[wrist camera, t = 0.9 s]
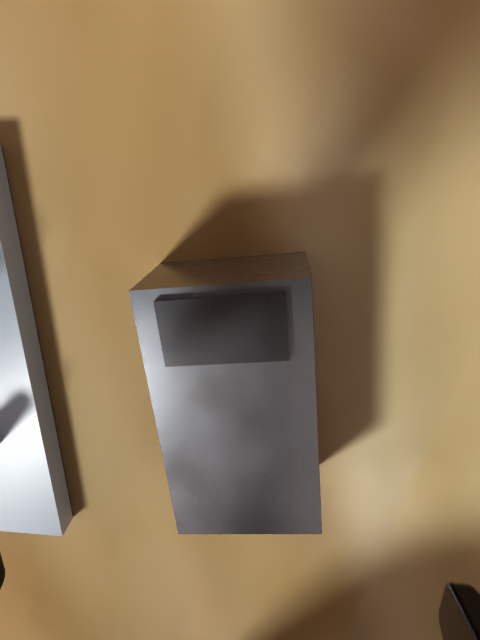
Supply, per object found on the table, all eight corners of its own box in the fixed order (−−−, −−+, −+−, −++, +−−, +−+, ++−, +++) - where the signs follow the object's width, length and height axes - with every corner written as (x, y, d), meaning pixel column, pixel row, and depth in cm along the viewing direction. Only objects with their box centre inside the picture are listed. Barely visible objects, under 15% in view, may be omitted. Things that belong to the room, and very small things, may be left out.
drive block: (314, 463, 17) (322, 539, 14) (196, 465, 18) (177, 538, 14) (304, 250, 14) (312, 279, 11) (162, 261, 15) (126, 292, 11)
